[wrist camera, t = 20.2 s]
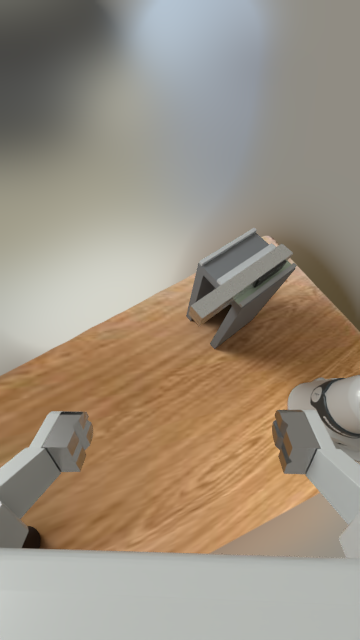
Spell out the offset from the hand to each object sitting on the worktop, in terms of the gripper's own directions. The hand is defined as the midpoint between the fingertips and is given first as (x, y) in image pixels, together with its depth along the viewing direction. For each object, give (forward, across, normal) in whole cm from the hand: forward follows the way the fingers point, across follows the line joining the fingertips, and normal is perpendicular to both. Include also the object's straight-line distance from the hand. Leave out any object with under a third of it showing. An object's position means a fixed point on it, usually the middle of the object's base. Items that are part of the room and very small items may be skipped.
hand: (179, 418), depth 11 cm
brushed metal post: (+38, +10, -12) cm, 41 cm away
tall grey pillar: (+57, +8, -31) cm, 65 cm away
